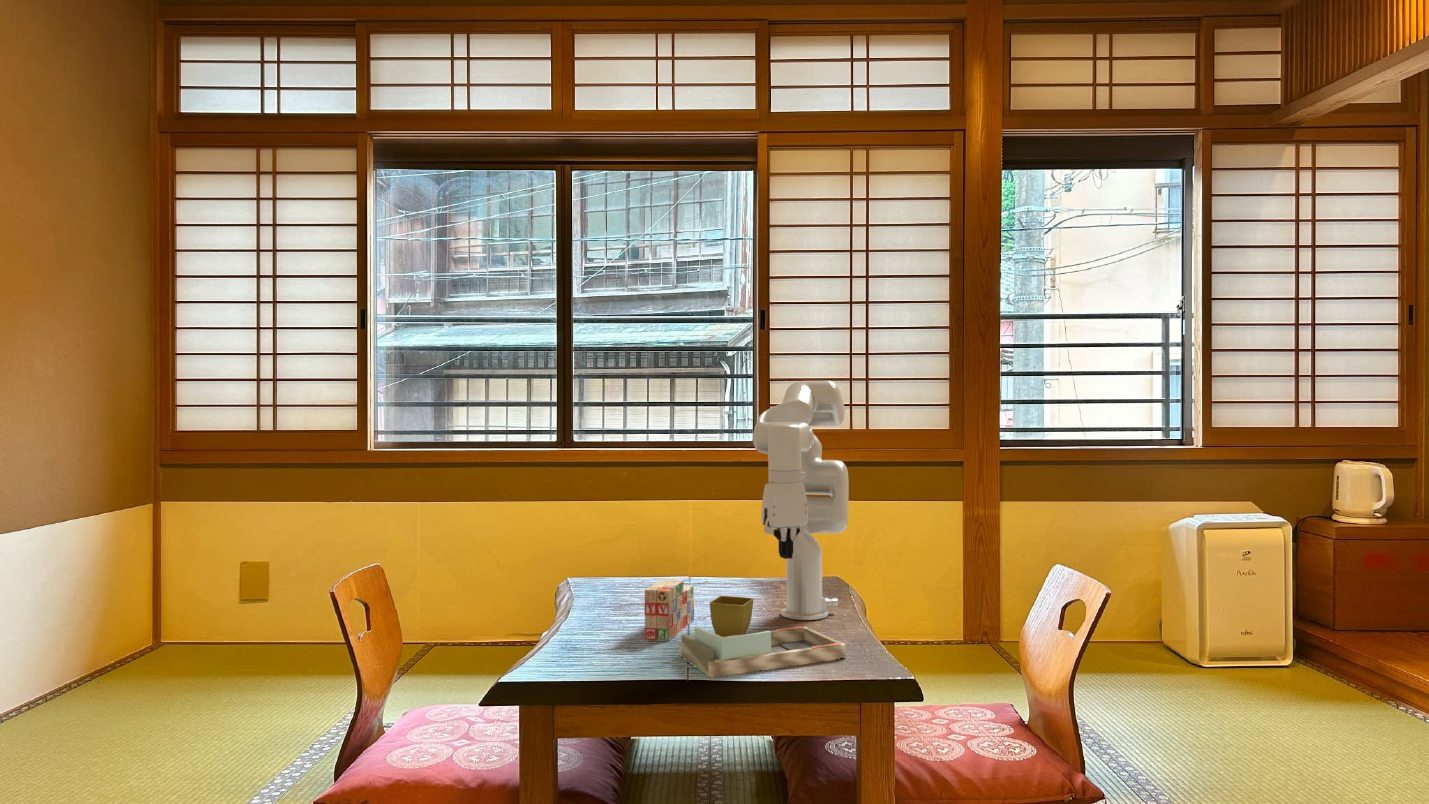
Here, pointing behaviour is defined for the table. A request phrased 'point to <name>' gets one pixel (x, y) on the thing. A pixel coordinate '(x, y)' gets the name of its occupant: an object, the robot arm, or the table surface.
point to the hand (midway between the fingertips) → (786, 557)
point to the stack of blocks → (667, 609)
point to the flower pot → (731, 615)
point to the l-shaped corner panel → (734, 644)
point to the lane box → (797, 639)
